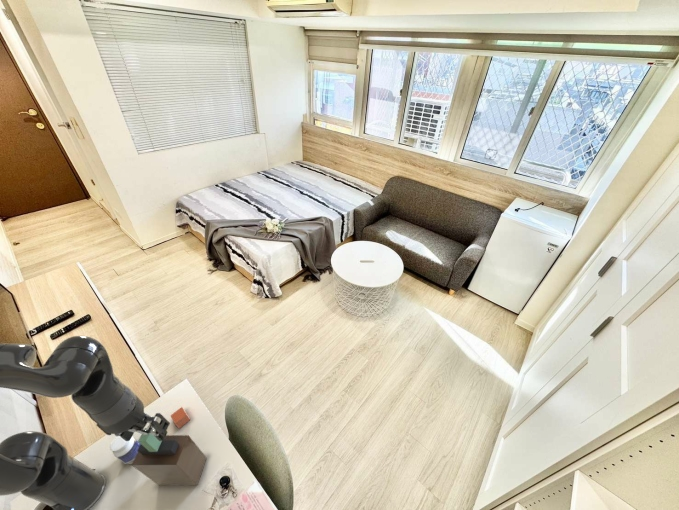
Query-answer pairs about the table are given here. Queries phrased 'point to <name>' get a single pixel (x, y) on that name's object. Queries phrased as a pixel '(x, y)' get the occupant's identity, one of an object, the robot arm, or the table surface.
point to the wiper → (156, 445)
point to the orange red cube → (180, 417)
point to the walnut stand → (173, 463)
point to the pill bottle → (125, 449)
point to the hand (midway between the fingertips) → (147, 436)
